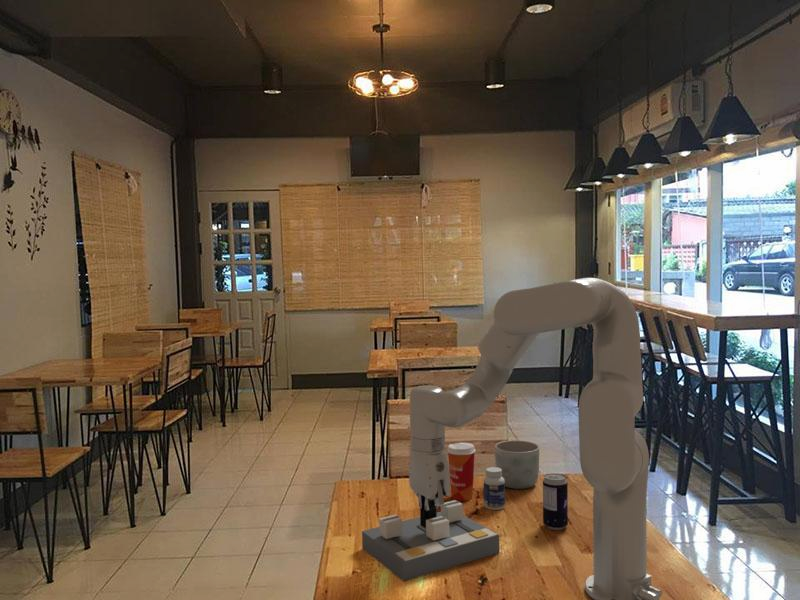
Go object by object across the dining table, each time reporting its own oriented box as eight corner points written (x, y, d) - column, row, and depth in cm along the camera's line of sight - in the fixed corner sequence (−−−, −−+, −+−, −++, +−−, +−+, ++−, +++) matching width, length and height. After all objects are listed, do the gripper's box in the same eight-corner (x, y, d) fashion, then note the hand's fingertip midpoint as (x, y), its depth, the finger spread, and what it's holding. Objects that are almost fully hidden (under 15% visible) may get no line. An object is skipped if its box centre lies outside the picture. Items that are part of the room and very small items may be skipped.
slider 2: (449, 536, 144) (449, 519, 144) (433, 540, 142) (433, 523, 142) (441, 531, 146) (441, 515, 146) (426, 535, 144) (425, 518, 144)
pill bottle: (488, 511, 169) (488, 473, 169) (480, 504, 174) (480, 467, 174) (508, 509, 171) (508, 471, 170) (499, 501, 176) (499, 465, 175)
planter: (492, 490, 185) (492, 451, 184) (497, 476, 197) (496, 439, 196) (539, 493, 182) (538, 453, 181) (540, 478, 194) (540, 441, 193)
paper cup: (442, 495, 182) (441, 444, 181) (467, 490, 185) (466, 440, 184) (456, 504, 174) (455, 451, 174) (482, 499, 178) (481, 447, 177)
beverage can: (568, 532, 156) (568, 481, 155) (543, 530, 157) (542, 480, 156) (567, 522, 161) (566, 473, 160) (543, 521, 162) (542, 472, 162)
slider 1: (402, 534, 145) (402, 518, 145) (386, 539, 143) (385, 522, 143) (395, 530, 148) (395, 513, 148) (379, 534, 146) (379, 517, 146)
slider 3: (462, 519, 153) (462, 503, 153) (448, 522, 151) (448, 506, 151) (455, 514, 156) (455, 499, 156) (440, 518, 154) (440, 502, 154)
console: (499, 552, 145) (499, 532, 145) (403, 581, 133) (403, 559, 133) (451, 525, 161) (451, 506, 161) (362, 548, 149) (362, 528, 149)
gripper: (461, 448, 141) (462, 534, 143) (424, 433, 154) (424, 511, 155) (431, 454, 138) (432, 542, 139) (395, 438, 151) (396, 518, 152)
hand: (428, 525), depth 147 cm, fingers closed
